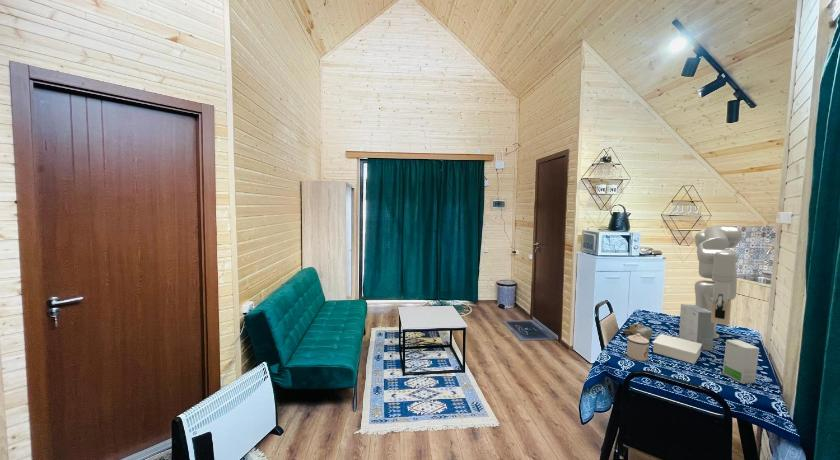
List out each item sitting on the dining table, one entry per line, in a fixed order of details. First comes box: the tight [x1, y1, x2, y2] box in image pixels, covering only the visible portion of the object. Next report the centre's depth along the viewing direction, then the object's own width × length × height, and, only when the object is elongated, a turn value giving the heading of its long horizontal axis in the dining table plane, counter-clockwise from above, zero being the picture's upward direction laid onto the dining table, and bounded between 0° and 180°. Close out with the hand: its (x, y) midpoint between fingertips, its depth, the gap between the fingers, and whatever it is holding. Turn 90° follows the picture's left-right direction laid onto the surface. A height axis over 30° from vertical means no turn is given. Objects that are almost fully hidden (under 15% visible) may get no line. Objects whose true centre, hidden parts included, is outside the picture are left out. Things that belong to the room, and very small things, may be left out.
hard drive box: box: [678, 303, 714, 352], centre depth 170 cm, size 16×8×20 cm, turn 168°
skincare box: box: [722, 339, 760, 384], centre depth 135 cm, size 8×7×16 cm
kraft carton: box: [711, 299, 732, 326], centre depth 148 cm, size 5×6×11 cm
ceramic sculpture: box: [620, 322, 654, 341], centre depth 180 cm, size 11×9×15 cm
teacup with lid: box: [626, 333, 650, 362], centre depth 156 cm, size 12×9×12 cm
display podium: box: [652, 333, 702, 365], centre depth 160 cm, size 17×17×5 cm
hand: (720, 316), depth 148 cm, fingers closed on kraft carton, 5 cm apart
